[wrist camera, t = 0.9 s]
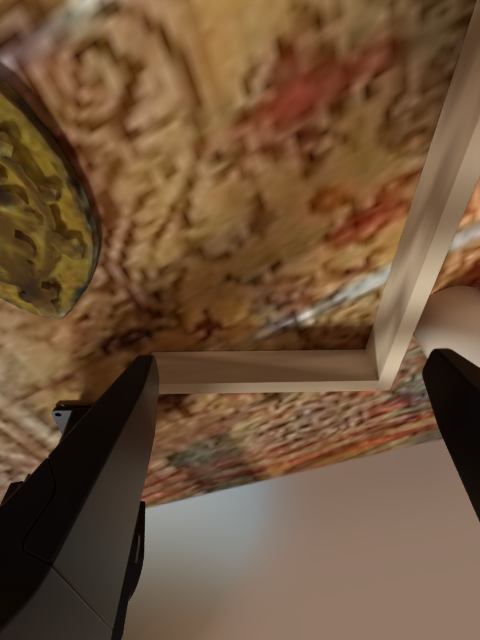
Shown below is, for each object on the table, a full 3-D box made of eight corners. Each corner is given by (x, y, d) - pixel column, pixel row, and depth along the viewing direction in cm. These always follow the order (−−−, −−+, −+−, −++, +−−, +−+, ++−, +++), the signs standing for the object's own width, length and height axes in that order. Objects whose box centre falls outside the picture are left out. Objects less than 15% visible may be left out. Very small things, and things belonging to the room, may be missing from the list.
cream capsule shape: (468, 342, 26) (520, 410, 22) (400, 343, 26) (438, 411, 21) (500, 285, 23) (569, 350, 18) (423, 285, 23) (474, 351, 18)
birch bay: (375, 358, 27) (389, 390, 25) (153, 362, 26) (146, 394, 24) (556, -157, 12) (638, -203, 10) (47, -175, 11) (1, -227, 9)
